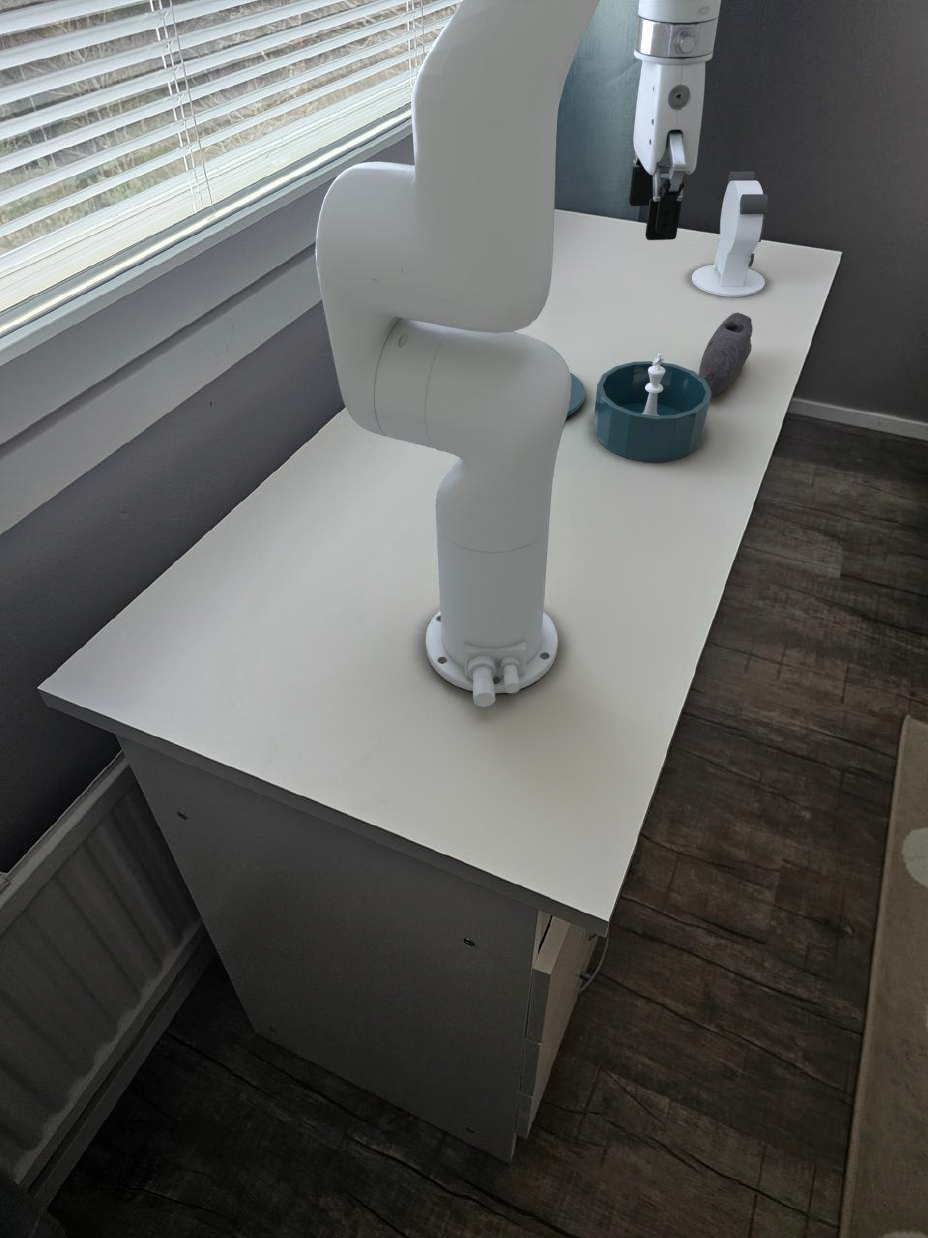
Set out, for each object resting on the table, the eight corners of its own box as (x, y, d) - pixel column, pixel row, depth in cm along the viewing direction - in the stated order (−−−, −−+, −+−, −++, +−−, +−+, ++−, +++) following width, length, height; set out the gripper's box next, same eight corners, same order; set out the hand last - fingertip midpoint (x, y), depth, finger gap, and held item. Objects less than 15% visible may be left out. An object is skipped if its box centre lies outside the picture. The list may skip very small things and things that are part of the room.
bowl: (713, 459, 107) (723, 416, 102) (602, 464, 106) (607, 420, 102) (688, 401, 116) (696, 359, 112) (586, 405, 116) (590, 362, 112)
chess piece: (675, 427, 111) (688, 353, 104) (653, 443, 108) (664, 369, 101) (643, 413, 113) (653, 340, 106) (620, 428, 111) (629, 355, 104)
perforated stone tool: (719, 412, 114) (729, 363, 109) (680, 402, 116) (688, 353, 111) (753, 361, 123) (764, 314, 118) (716, 353, 125) (725, 305, 120)
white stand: (772, 298, 137) (796, 197, 127) (698, 298, 138) (716, 197, 127) (756, 265, 146) (777, 168, 135) (686, 266, 146) (702, 168, 136)
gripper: (737, 59, 79) (704, 252, 91) (693, 17, 91) (668, 192, 103) (653, 61, 79) (631, 254, 91) (620, 19, 91) (604, 194, 103)
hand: (651, 221), depth 97 cm, fingers open, 9 cm apart
